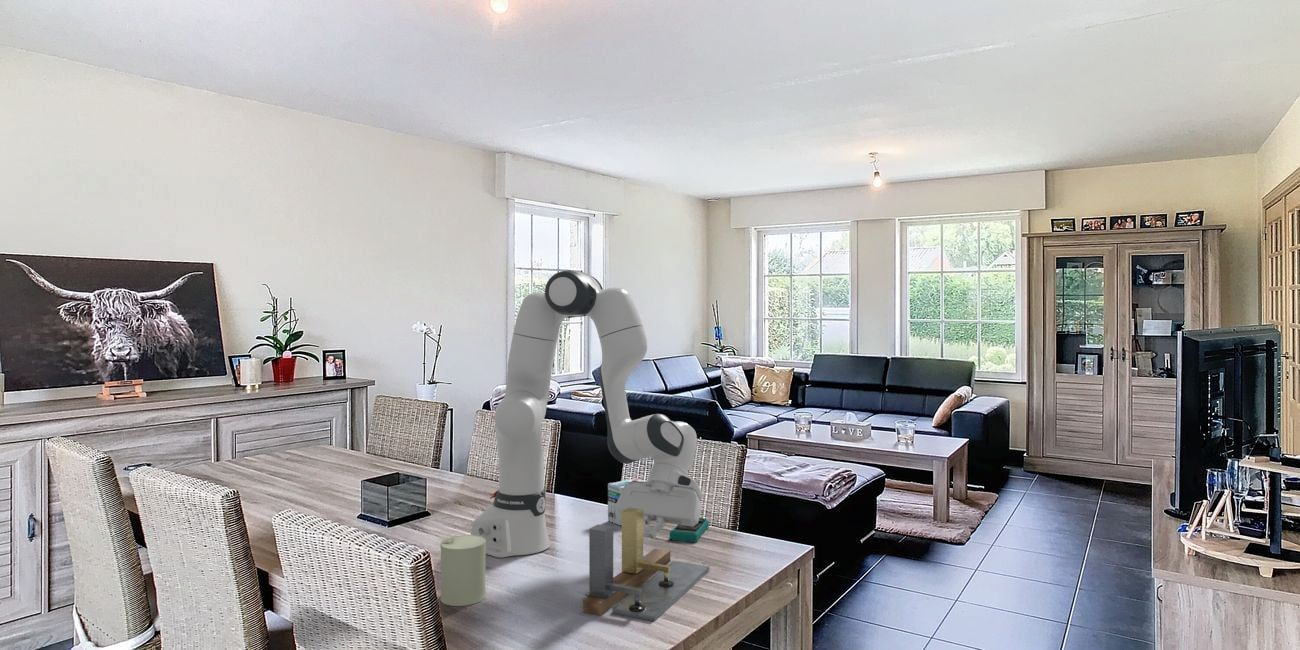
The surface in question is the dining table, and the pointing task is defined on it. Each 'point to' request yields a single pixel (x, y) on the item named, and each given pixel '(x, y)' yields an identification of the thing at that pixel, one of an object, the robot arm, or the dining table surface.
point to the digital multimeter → (689, 531)
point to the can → (463, 570)
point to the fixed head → (604, 566)
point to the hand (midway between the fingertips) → (648, 536)
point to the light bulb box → (616, 499)
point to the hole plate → (661, 591)
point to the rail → (626, 583)
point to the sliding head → (636, 544)
